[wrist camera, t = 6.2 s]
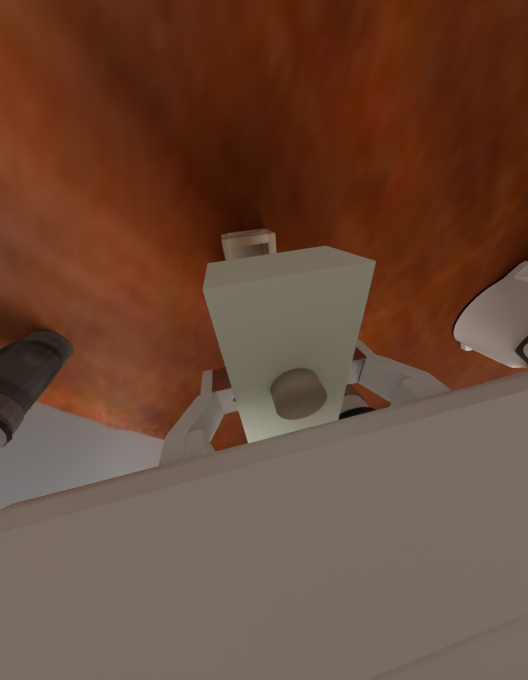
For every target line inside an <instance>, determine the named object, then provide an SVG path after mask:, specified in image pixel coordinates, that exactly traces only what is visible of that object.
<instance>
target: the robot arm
mask: <svg viewBox="0 0 528 680" xmlns="http://www.w3.org/2000/svg"><path fill="white" fill-rule="evenodd" d="M454 337H455V339H456V340H458V341H459V342H460V345H461V349H463V350H466V351H470V350H475V351H477V352H479V353H481V354H484V355H486V356H488V357H490V358H492V359H494V360H496V361H498V362H501V363H503V364H505V365H507V366H509V367H513V368H515V367H526V368H528V261H524V262H522V263H521V264H519V265H518V266H517V267H515V268H514V269H513V270H512V271H511V272H510V273H509V274H508V275H507V276H505V277H504V278H503V279H501V280H500V281H499V282H497V283H495V284H494V285H492V286H491V287H489V288H488V289H487V290H485V291H484V292H483V293H481V294H480V295H479V296H478V297H477V298H476V299H475V300H474V301H473V302H472V303H471V304H470V305H469V306H468V307H467V308H466V309H465V310H464V312H463V313H462V314H461V316H460V317H459V319H458V321H457V323H456V325H455V328H454ZM357 382H358V383H359V384H361V385H363V386H364V387H366V388H368V389H369V390H371V391H373V392H374V393H376V394H378V395H379V396H381V397H382V398H384V399H386V400H387V401H389V402H391V404H390V406H389V407H387V408H383V409H379V410H375V411H371V412H368V413H364V414H360V415H356V416H352V417H348V418H344V419H340V420H337V421H333V422H329V423H325V424H321V425H317V426H313V427H309V428H306V429H302V430H298V431H294V432H290V433H286V434H282V435H278V436H274V437H271V438H267V439H263V440H259V441H255V442H251V443H247V444H243V445H240V446H236V447H232V448H228V449H224V450H220V451H216V452H215V451H214V449H213V447H212V446H211V444H210V442H211V440H212V438H213V436H214V434H215V432H216V430H217V428H218V426H219V424H220V422H221V420H222V418H223V416H224V415H223V414H226V413H230V412H234V411H238V407H237V403H236V400H235V397H234V393H233V390H232V387H231V383H230V380H229V376H228V373H227V370H226V367H224V368H219V369H213V370H209V371H204V372H203V375H202V385H201V395H200V396H197V398H196V399H195V400H194V401H193V403H192V404H191V405H190V406H189V408H188V409H187V410H186V411H185V413H184V414H183V415H182V417H181V418H180V419H179V420H178V422H177V423H176V424H175V425H174V427H173V428H172V429H171V430H170V432H169V433H168V434H167V435H166V437H165V442H164V446H163V450H162V455H161V459H160V463H159V466H158V467H154V468H151V469H146V470H142V471H139V472H134V473H131V474H127V475H123V476H119V477H115V478H111V479H107V480H104V481H99V482H96V483H92V484H88V485H84V486H81V487H76V488H72V489H68V490H65V491H61V492H57V493H53V494H49V495H46V496H41V497H37V498H33V499H29V500H25V501H21V502H17V503H14V504H12V505H9V506H7V507H5V508H3V509H1V510H0V680H528V371H527V372H523V373H519V374H515V375H511V376H507V377H503V378H500V379H496V380H492V381H488V382H484V383H480V384H476V385H472V386H468V387H465V388H461V389H457V390H453V391H451V390H450V389H449V388H447V387H446V386H445V385H444V384H442V383H441V382H440V381H438V380H437V379H436V378H435V377H433V376H432V375H431V374H429V373H427V372H425V371H422V370H419V369H416V368H413V367H411V366H408V365H405V364H402V363H399V362H397V361H394V360H391V359H388V358H386V357H383V356H380V355H379V356H377V355H375V354H374V353H373V352H372V351H371V350H370V349H369V348H368V347H367V346H366V345H364V344H363V343H362V342H361V341H360V340H358V339H357V343H356V348H355V352H354V356H353V360H352V364H351V368H350V373H349V377H348V381H347V384H352V383H357Z"/></svg>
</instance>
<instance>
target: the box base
mask: <svg viewBox="0 0 528 680" xmlns="http://www.w3.org/2000/svg"><path fill="white" fill-rule="evenodd" d="M221 241H222V246H223V251H224V256H225V260H226V261H227V260H234V259H240V258H247V257H254V256H261V255H267V254H274V253H276V236H275V233H274V232H272V231H270V230H268V229H266V228H263V229H255V230H248V231H240V232H232V233H225V234H221Z"/></svg>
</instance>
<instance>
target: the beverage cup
mask: <svg viewBox="0 0 528 680" xmlns="http://www.w3.org/2000/svg"><path fill="white" fill-rule="evenodd" d="M73 350H74V349H73V346H72V345H71V343H70V342H69V341H68V340H67V339H65V338H64V337H62V336H60V335H58V334H55V333H52V332H47V331H38V332H34V333H32V334H30V335H28V336H26V337H24V338H21V339H19V340H17V341H15V342H13V343H11V344H9V345H7V346H5V347H4V348H2V349H0V448H2V447H4V446H5V445H6V444H7V443H8V442H9V441H10V440H11V439H12V435H13V434H14V432H15V431H16V430H17V428H18V427H19V425H20V424H21V422H22V420H23V419H24V415H25V414H26V413H27V411H28V410H29V409H30V407H31V406H32V405H33V404H34V403H35V401H36V400H37V399H38V397H39V396H40V395H41V394H42V392H43V391H44V390H45V389H46V387H47V386H48V385H49V384H50V382H51V381H52V380H53V379H54V377H55V376H56V375H57V374H58V372H59V371H60V370H61V369H62V367H63V366H64V365H65V363H66V362H67V360H68V359H69V357H70V356H71V355H72V354H73Z"/></svg>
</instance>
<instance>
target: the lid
mask: <svg viewBox="0 0 528 680" xmlns="http://www.w3.org/2000/svg"><path fill="white" fill-rule="evenodd" d="M375 264H376V261H374V260H371V259H368V258H364V257H361V256H358V255H355V254H351V253H348V252H345V251H341V250H338V249H335V248H332V247H328V246H321V247H314V248H308V249H301V250H294V251H288V252H281V253H274V254H267V255H261V256H254V257H247V258H240V259H234V260H227V261H220V262H213V263H208V265H207V270H206V275H205V280H204V285H203V293H204V296H205V299H206V303H207V306H208V309H209V313H210V316H211V319H212V323H213V326H214V329H215V333H216V336H217V340H218V343H219V346H220V350H221V353H222V356H223V360H224V363H225V366H226V370H227V373H228V376H229V380H230V383H231V387H232V390H233V393H234V397H235V400H236V403H237V407H238V410H239V413H240V417H241V420H242V424H243V427H244V430H245V434H246V437H247V440H248V443H251V442H255V441H259V440H263V439H267V438H271V437H274V436H278V435H282V434H286V433H290V432H294V431H298V430H302V429H306V428H309V427H313V426H317V425H321V424H325V423H329V422H333V421H337V420H338V419H339V414H340V410H341V406H342V402H343V398H344V394H345V389H346V385H347V381H348V377H349V373H350V368H351V364H352V360H353V356H354V352H355V348H356V343H357V339H358V335H359V331H360V327H361V322H362V318H363V314H364V310H365V306H366V302H367V297H368V293H369V289H370V285H371V281H372V277H373V272H374V268H375Z"/></svg>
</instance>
